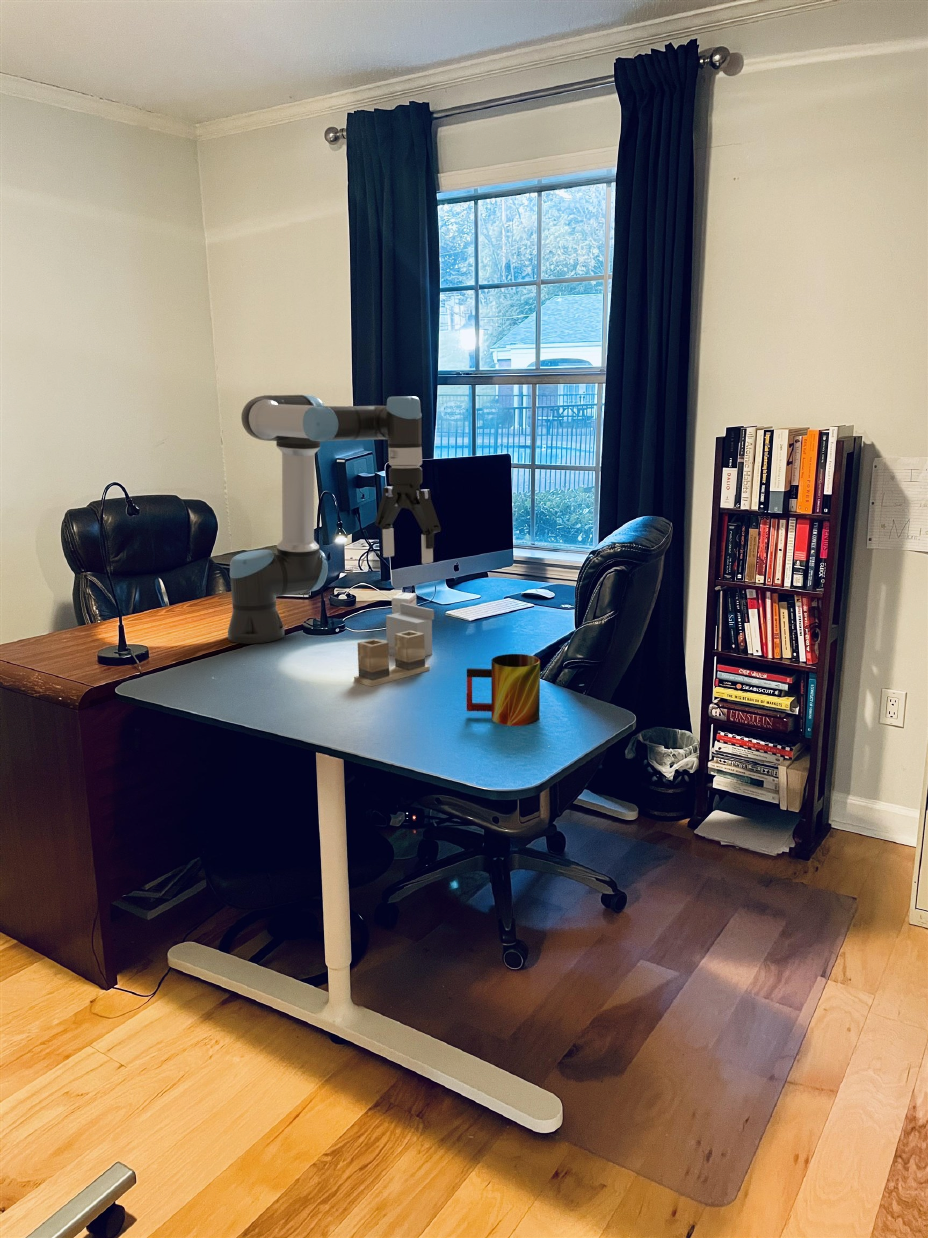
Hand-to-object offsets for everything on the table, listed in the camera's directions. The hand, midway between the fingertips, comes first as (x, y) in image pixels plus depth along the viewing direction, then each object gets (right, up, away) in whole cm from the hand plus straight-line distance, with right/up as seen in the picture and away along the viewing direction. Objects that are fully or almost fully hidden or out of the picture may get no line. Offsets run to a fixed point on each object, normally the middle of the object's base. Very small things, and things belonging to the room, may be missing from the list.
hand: (407, 559), depth 207 cm
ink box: (-3, -19, +37) cm, 42 cm away
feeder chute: (-2, -22, +22) cm, 31 cm away
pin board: (-4, -27, +2) cm, 27 cm away
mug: (+21, -34, -27) cm, 49 cm away
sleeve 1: (-8, -27, -2) cm, 28 cm away
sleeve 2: (0, -25, +6) cm, 26 cm away
